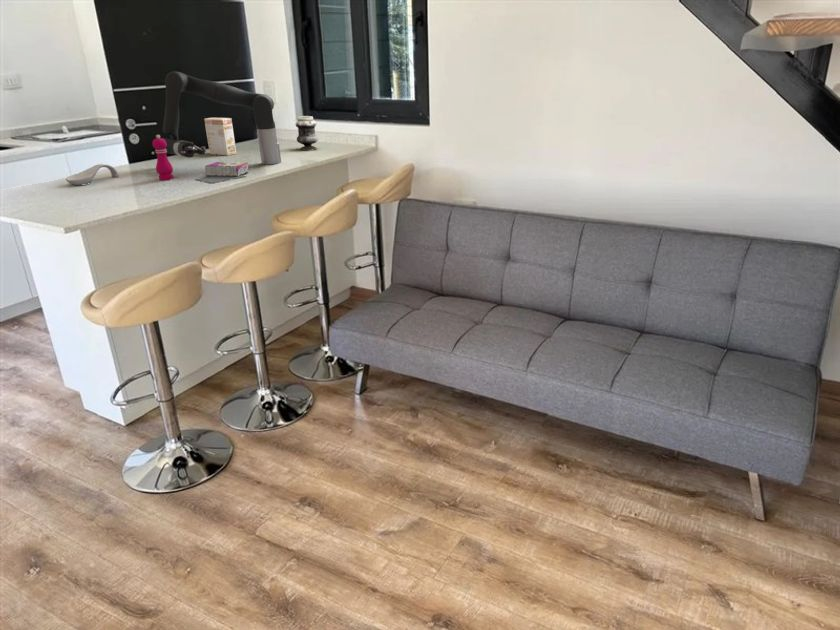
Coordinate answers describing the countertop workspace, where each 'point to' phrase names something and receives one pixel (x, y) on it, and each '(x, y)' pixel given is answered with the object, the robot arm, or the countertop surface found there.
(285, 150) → the countertop surface
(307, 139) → the apothecary jar
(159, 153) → the pepper mill
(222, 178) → the rubber mat
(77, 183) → the spoon rest
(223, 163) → the candy bar box
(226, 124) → the coffeecake box
